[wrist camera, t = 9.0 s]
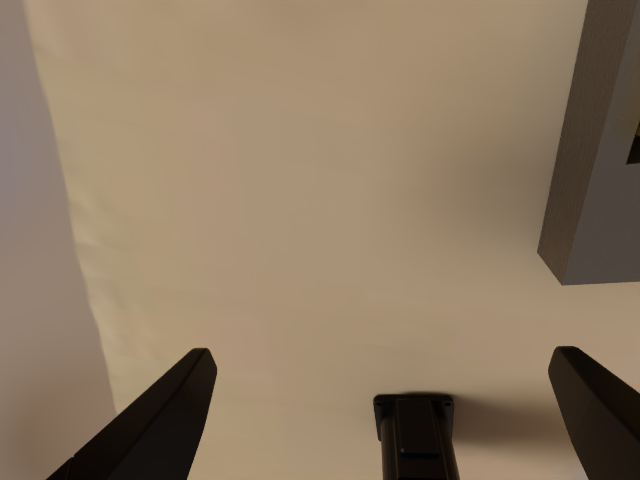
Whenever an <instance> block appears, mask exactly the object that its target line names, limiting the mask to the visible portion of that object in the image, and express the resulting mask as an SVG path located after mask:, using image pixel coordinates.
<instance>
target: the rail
mask: <svg viewBox="0 0 640 480" xmlns="http://www.w3.org/2000/svg"><path fill="white" fill-rule="evenodd" d="M639 121H640V0H589V1H588V5H587V10H586V15H585V20H584V25H583V30H582V35H581V40H580V45H579V50H578V55H577V60H576V64H575V69H574V74H573V79H572V84H571V89H570V94H569V99H568V104H567V109H566V114H565V119H564V123H563V128H562V133H561V138H560V143H559V148H558V153H557V158H556V163H555V168H554V173H553V178H552V182H551V187H550V192H549V197H548V202H547V207H546V212H545V217H544V222H543V227H542V232H541V237H540V241H539V246H538V251H537V253H538V254H539V255H540V257H541V258H542V259H543V261H544V262H545V263H546V265H547V266H548V267H549V269H550V270H551V271H552V273H553V274H554V276H555V277H556V278H557V280H558V281H559V282H560V284H561V285H581V284H599V283H618V282H637V281H640V136H639V137H634V136H635V133H636V130H637V127H638V124H639Z"/></svg>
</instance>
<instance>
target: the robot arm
mask: <svg viewBox="0 0 640 480" xmlns="http://www.w3.org/2000/svg"><path fill="white" fill-rule="evenodd" d="M548 374H549V378H550V381H551V384H552V387H553V390H554V393H555V396H556V399H557V402H558V405H559V408H560V411H561V414H562V416H563V419H564V422H565V425H566V428H567V431H568V434H569V436H570V439H571V442H572V444H573V446H574V449H575V451H576V453H577V455H578V458H579V460H580V462H581V464H582V466H583V468H584V470H585V472H586V475H587V477H588V479H589V480H640V393H639V392H637V391H636V390H634V389H633V388H632V387H630V386H629V385H628V384H626V383H625V382H624V381H622V380H621V379H620V378H618V377H617V376H616V375H614V374H613V373H611V372H610V371H609V370H607V369H606V368H605V367H603V366H602V365H601V364H599V363H598V362H597V361H595V360H594V359H593V358H591V357H590V356H589V355H587V354H586V353H584V352H583V351H582V350H580V349H579V348H577V347H574V346H558V347H556V348H555V350H554V352H553V355H552V358H551V361H550V364H549V368H548ZM216 376H217V366H216V364H215V361H214V359H213V357H212V355H211V352H210V350H209V349H208V348H194V349H192V350H191V351H190V352H188V353H187V354H186V355H185V356H184V357H183V358H182V359H181V360H179V361H178V362H177V363H176V364H175V365H174V366H173V367H172V368H171V369H169V370H168V371H167V372H166V373H165V374H164V375H163V376H162V377H160V378H159V379H158V380H157V381H156V382H155V383H154V384H153V385H151V386H150V387H149V388H148V389H147V390H146V391H145V392H144V393H142V394H141V395H140V396H139V397H138V398H137V399H136V400H135V401H134V402H132V403H131V404H130V405H129V406H128V407H127V408H126V409H125V410H123V411H122V412H121V413H120V414H119V415H118V416H117V417H116V418H114V419H113V420H112V421H111V422H110V423H109V424H108V425H107V426H106V427H105V428H103V429H102V430H101V431H100V432H99V433H98V434H97V435H95V436H94V437H93V438H92V439H91V440H90V441H89V442H88V443H86V444H85V445H84V446H83V447H82V448H81V449H80V450H79V451H78V452H76V453H75V454H74V457H71V458H70V459H68V460H67V461H66V462H65V463H64V464H63V465H62V466H61V467H60V468H58V469H57V470H56V471H55V472H54V473H53V474H51V475H50V476H49V477H48V478H47V479H46V480H187V477H188V475H189V472H190V469H191V466H192V463H193V460H194V457H195V454H196V451H197V448H198V445H199V442H200V439H201V436H202V433H203V430H204V427H205V423H206V419H207V415H208V410H209V406H210V402H211V397H212V393H213V389H214V385H215V380H216ZM373 405H374V412H375V419H376V427H377V434H378V440H379V441H381V446H382V469H383V480H460V477H459V472H458V467H457V463H456V458H455V453H454V448H453V444H452V427H453V412H454V402H453V398H452V397H450V396H377V397H374V399H373Z"/></svg>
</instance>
